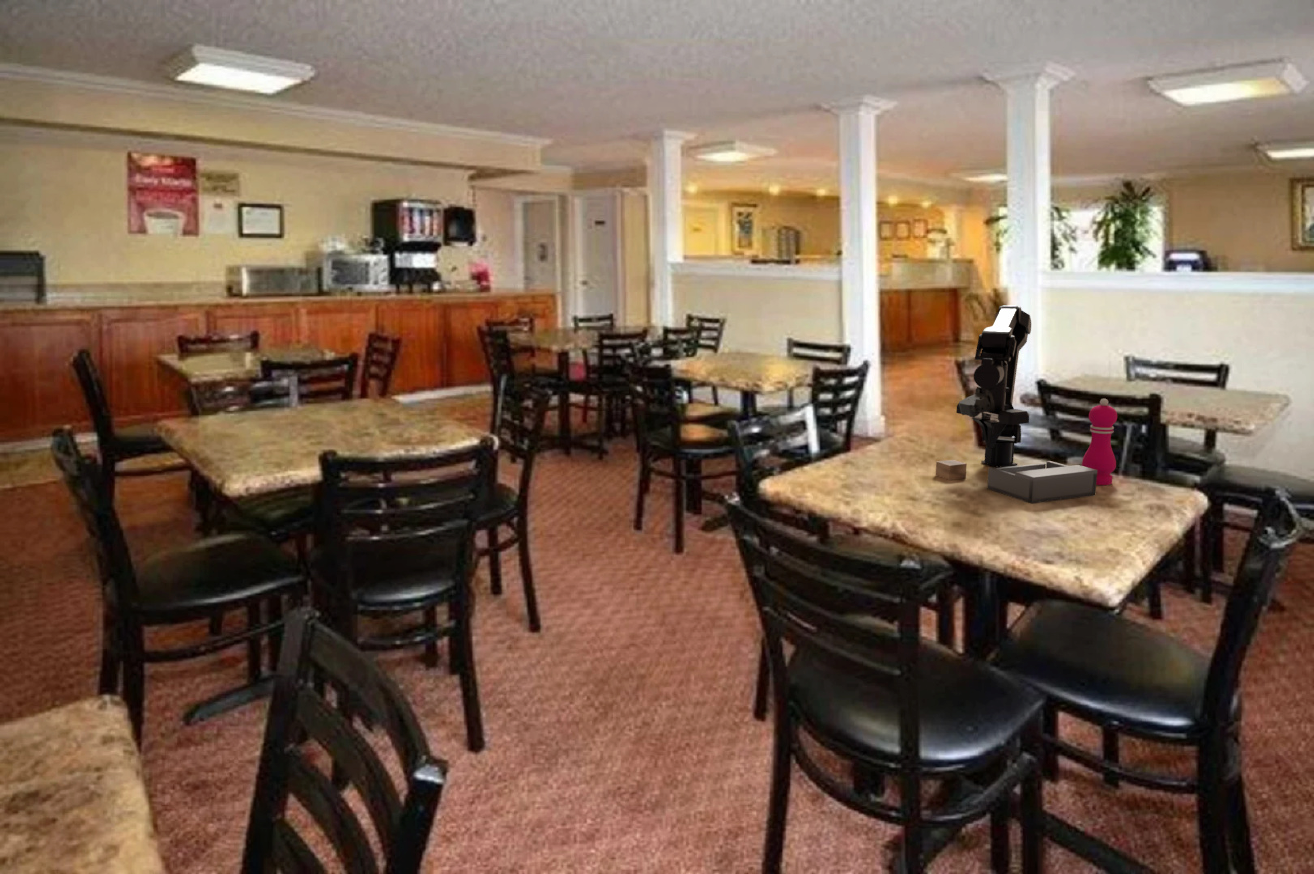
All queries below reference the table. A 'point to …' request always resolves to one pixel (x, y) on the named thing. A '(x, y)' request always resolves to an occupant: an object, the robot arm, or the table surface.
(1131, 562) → the table surface
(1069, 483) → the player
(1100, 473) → the pepper mill
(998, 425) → the robot arm
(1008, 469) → the tray
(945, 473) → the block
